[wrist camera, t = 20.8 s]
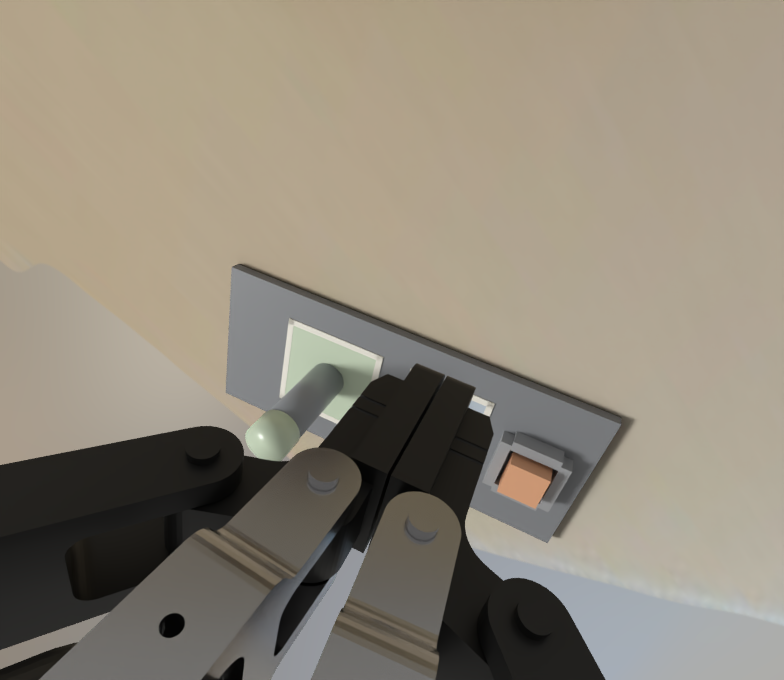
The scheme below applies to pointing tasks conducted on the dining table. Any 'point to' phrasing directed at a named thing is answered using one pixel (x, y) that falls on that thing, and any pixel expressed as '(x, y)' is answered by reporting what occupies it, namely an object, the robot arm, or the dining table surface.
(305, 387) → the marker
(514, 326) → the dining table surface
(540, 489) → the button
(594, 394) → the dining table surface
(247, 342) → the picture board
